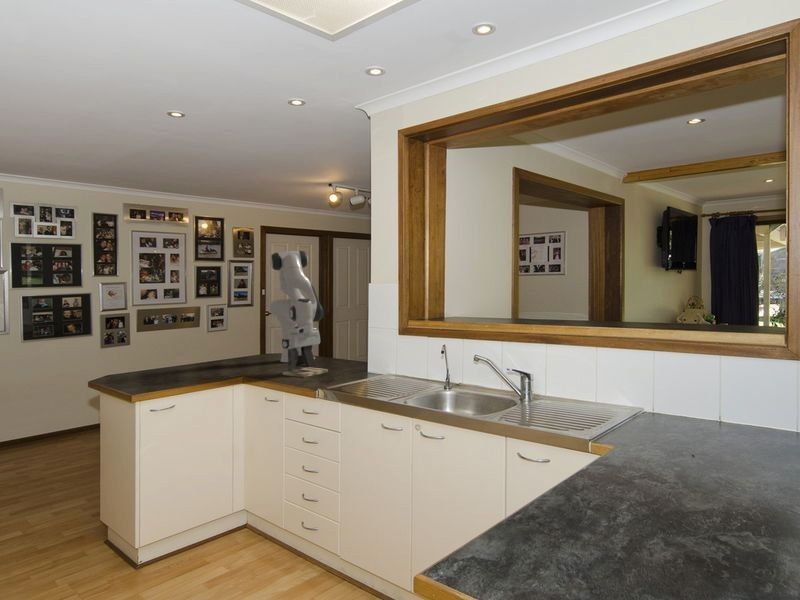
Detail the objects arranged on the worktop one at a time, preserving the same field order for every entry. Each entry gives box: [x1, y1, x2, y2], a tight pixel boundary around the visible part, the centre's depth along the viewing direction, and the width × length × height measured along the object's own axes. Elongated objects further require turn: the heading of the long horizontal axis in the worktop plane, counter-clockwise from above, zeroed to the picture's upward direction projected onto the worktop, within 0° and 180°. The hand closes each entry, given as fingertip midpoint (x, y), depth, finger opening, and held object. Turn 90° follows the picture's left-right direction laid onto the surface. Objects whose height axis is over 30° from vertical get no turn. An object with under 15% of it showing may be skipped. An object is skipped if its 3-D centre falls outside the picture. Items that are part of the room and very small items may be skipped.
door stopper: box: [296, 345, 317, 368], centre depth 288 cm, size 9×6×12 cm, turn 58°
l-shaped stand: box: [282, 348, 329, 378], centre depth 288 cm, size 18×16×14 cm
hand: (305, 354), depth 288 cm, fingers closed on door stopper, 6 cm apart
